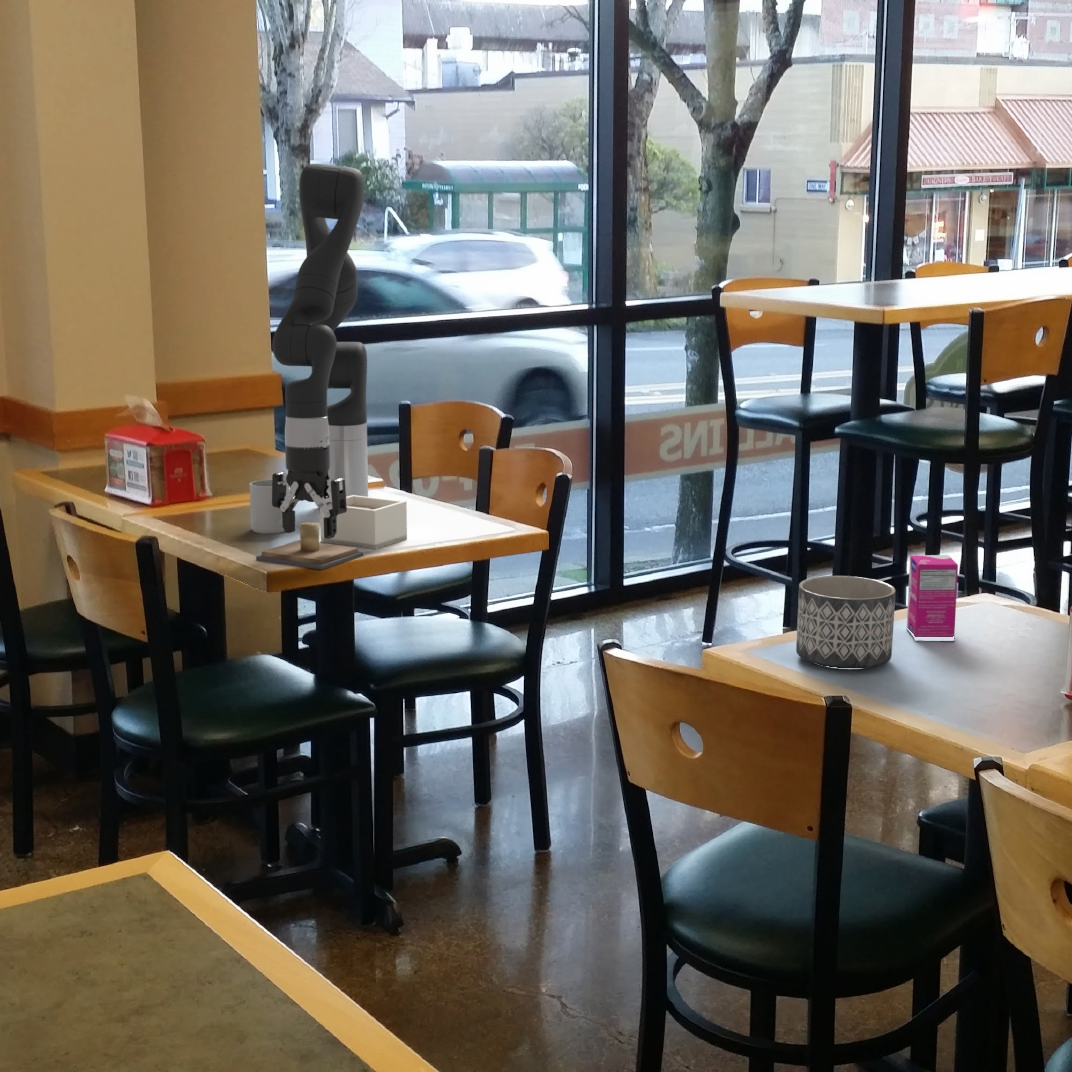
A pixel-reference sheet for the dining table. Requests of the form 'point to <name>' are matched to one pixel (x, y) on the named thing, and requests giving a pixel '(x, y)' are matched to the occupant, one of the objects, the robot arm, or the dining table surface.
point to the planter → (845, 621)
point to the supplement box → (932, 595)
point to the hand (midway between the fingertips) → (309, 535)
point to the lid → (310, 548)
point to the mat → (310, 565)
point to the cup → (264, 508)
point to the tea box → (369, 523)
